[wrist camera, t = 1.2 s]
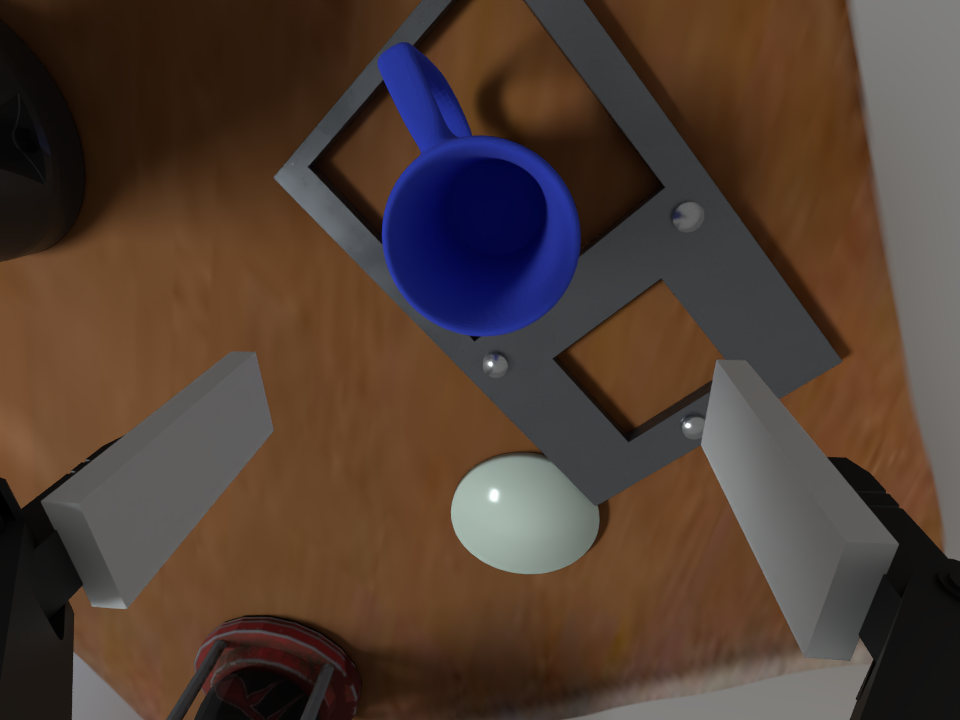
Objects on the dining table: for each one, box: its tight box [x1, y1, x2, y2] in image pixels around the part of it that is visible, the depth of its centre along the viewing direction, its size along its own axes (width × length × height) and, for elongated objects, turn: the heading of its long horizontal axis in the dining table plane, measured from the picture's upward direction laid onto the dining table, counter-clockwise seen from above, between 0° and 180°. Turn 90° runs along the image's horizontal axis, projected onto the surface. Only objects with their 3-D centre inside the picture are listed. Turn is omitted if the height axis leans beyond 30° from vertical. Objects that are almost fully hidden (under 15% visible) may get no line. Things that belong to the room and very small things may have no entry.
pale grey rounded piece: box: [451, 452, 600, 574], centre depth 39 cm, size 11×11×1 cm
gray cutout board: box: [274, 0, 842, 506], centre depth 31 cm, size 30×18×1 cm, turn 43°
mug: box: [378, 42, 581, 337], centre depth 25 cm, size 8×12×10 cm
